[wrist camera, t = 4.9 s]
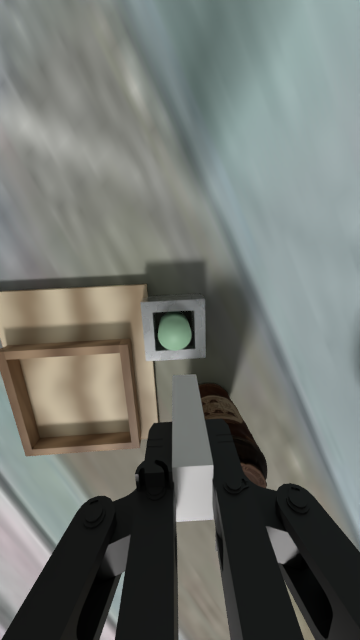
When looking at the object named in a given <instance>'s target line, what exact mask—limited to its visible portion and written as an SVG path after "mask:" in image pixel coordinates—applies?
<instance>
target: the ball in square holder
mask: <svg viewBox="0 0 360 640" xmlns="http://www.w3.org/2000/svg"><path fill="white" fill-rule="evenodd" d="M140 304H141V314H142V325H143V335H144V346H145V356H146V361H158V360H175V359H191V358H206V336H205V298H204V297H203V296H202V294H201V293H199V294H180V295H160V296H148V297H147V298H143V299H142V300H141V302H140ZM190 310H192V338H191V340H190V342H189V344H188V345H187V346H186V347H185V348H183V349H181V350H176V351H173V350H168V349H166V348H165V347H163V346H162V345H161V343H160V342H159V340H157V333H156V320H155V312H171V311H190Z"/></svg>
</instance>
